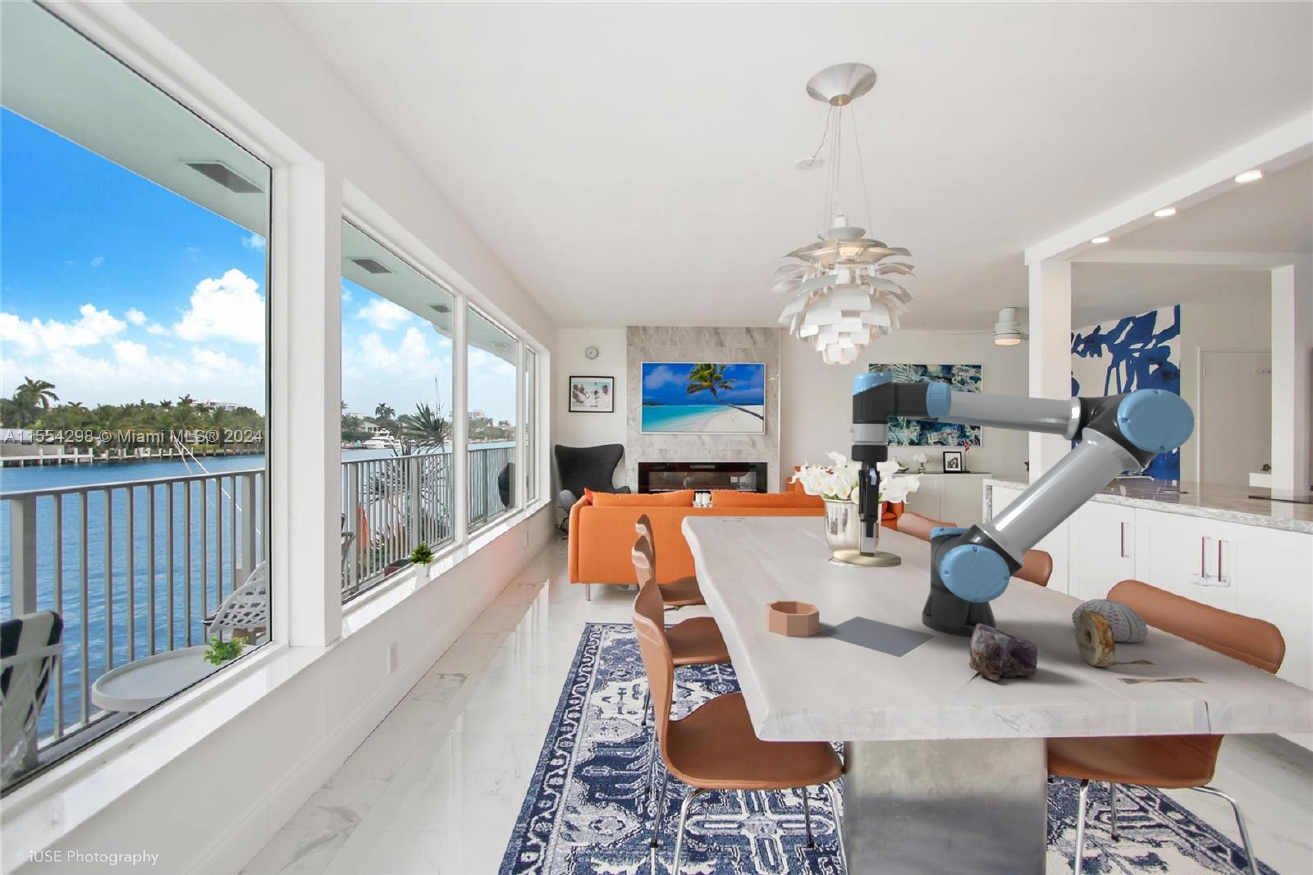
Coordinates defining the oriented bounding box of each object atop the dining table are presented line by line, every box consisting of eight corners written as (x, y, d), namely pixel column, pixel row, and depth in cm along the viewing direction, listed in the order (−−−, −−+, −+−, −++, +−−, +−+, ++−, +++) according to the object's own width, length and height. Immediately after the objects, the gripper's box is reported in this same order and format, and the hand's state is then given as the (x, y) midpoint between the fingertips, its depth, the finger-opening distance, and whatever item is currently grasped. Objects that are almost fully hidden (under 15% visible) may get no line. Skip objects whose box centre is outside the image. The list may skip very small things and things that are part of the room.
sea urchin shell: (1061, 624, 135) (1062, 590, 135) (1129, 629, 132) (1130, 594, 132) (1087, 643, 122) (1087, 606, 122) (1163, 650, 119) (1163, 611, 119)
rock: (1041, 691, 102) (1004, 666, 112) (1050, 644, 102) (1012, 624, 112) (979, 681, 101) (947, 658, 111) (987, 634, 101) (955, 615, 111)
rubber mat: (935, 637, 125) (935, 635, 125) (899, 658, 113) (899, 656, 113) (857, 618, 138) (857, 616, 138) (818, 635, 126) (818, 633, 126)
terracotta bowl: (826, 630, 129) (826, 608, 129) (799, 642, 122) (799, 618, 122) (785, 618, 137) (785, 597, 137) (757, 629, 130) (757, 607, 130)
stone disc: (1120, 675, 106) (1120, 621, 106) (1096, 673, 107) (1096, 619, 107) (1095, 655, 116) (1095, 605, 116) (1073, 652, 117) (1074, 604, 117)
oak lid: (911, 561, 126) (913, 515, 126) (883, 570, 116) (884, 521, 116) (852, 550, 136) (853, 508, 136) (821, 558, 126) (822, 513, 126)
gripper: (847, 443, 134) (844, 542, 135) (856, 443, 119) (854, 556, 119) (881, 443, 133) (878, 544, 133) (895, 444, 117) (892, 559, 117)
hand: (866, 550), depth 126 cm, fingers closed on oak lid, 3 cm apart
